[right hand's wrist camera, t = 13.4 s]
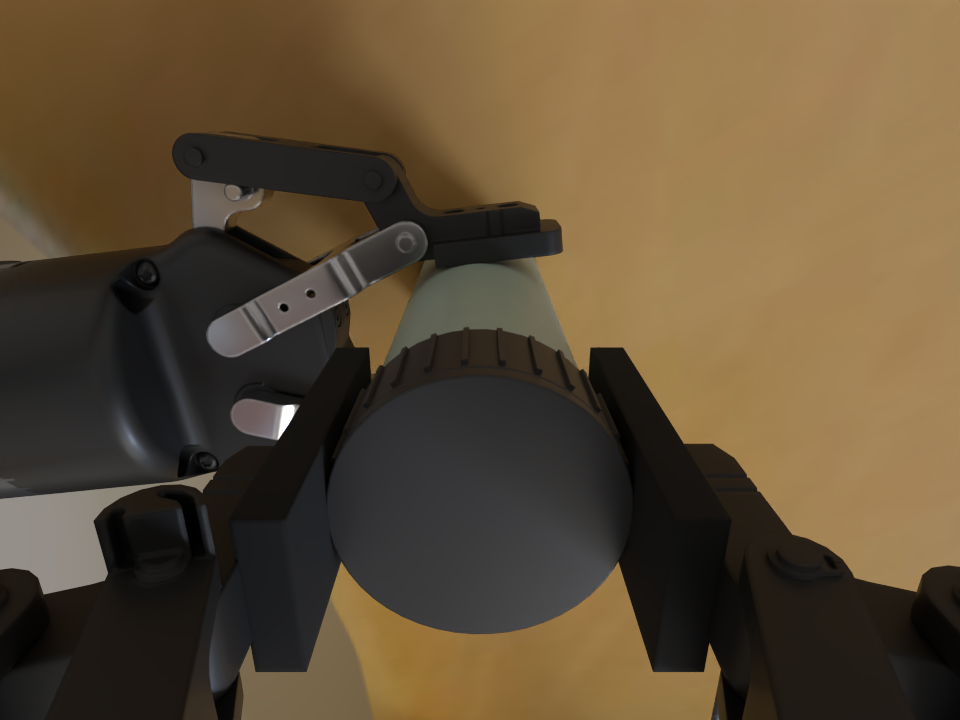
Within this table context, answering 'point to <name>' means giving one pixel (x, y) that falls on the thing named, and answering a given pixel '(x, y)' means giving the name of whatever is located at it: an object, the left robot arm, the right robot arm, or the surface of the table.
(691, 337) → the table surface
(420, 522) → the lid
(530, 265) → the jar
